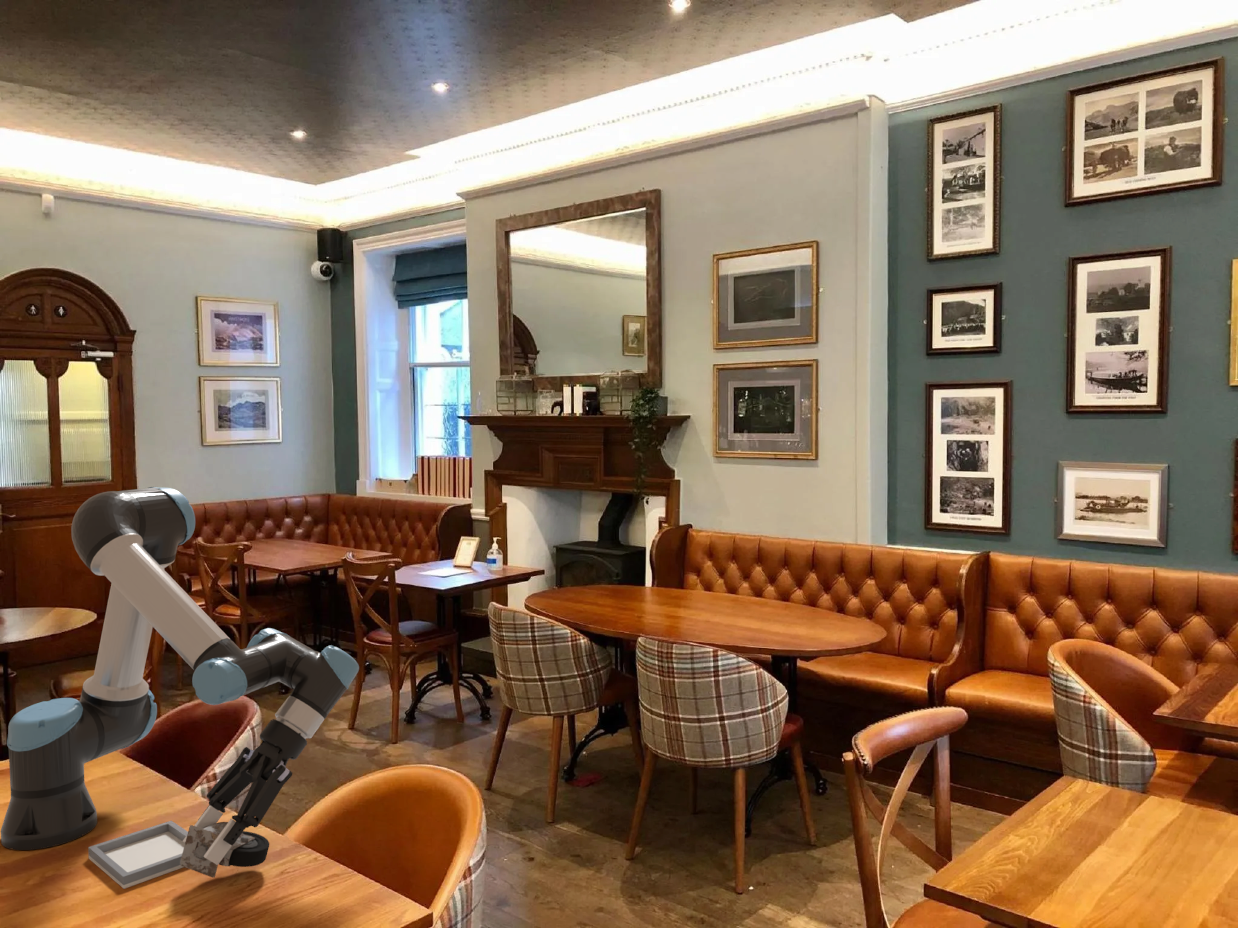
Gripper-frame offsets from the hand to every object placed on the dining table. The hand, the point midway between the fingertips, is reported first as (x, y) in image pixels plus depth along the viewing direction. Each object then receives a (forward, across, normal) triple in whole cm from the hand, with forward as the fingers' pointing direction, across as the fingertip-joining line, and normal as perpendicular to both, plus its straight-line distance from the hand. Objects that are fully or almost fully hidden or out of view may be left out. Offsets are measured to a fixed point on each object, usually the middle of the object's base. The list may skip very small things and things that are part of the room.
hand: (199, 852), depth 149 cm
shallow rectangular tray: (+5, +17, -3) cm, 18 cm away
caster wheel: (-1, 0, -6) cm, 6 cm away
